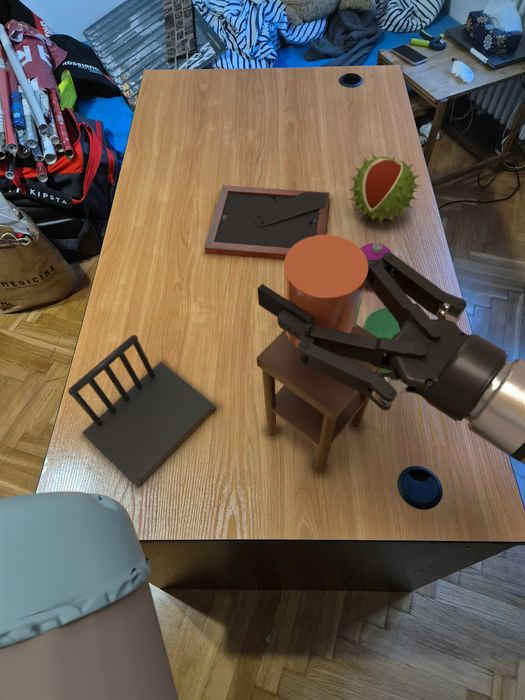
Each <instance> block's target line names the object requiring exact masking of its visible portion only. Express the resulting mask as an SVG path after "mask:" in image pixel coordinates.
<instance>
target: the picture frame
mask: <svg viewBox="0 0 525 700" xmlns="http://www.w3.org/2000/svg"><path fill="white" fill-rule="evenodd" d="M329 200H330V192H328V191H327V192H326V191H312V190H297V189H284V188H283V189H281V188H271V187H270V188H269V187H254V186H239V185H237V186H236V185H223V184H222V185H221V189H220V192H219V196H218V199H217V202H216V205H215V209H214V212H213V216H212V219H211V222H210V227H209V229H208V233H207V237H206V240H205V244H204V247H203V249H204V253H205V254H210V255H222V256H223V255H224V256H234V257H244V258H245V257H246V258H258V259H268V260H269V259H270V260H281V261H282V260H283V261H285V258H286V255H287V253H288V252H289V250H290V249H291V248H292V247H293V246H294V245H295V244H296V243H298V242H299V241H301V240H303V239H305V238H308V237H311V236H314V235H326V229H327V220H328V212H329V211H328V209H329V204H330V203H329V202H330V201H329Z"/></svg>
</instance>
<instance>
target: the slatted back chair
mask: <svg viewBox="0 0 525 700" xmlns="http://www.w3.org/2000/svg"><path fill="white" fill-rule="evenodd" d="M132 346H133V347H134V349H135V351H136V353H137V354H138V357H139V358H140V361H141V363H142V365H143V367H144V368H145V371H146V372H147V373H146V374H145V375H144V376H143V377H142V378H141V379H139V376H137V373H136V372H135V370H134V368H133V366H132V364H131V363H130V361H129V359H128V357H127V355H126V351H127V350H129V349H130V348H131V347H132ZM118 358H119V360H120V361H121V364H122V365H123V367H124V368H125V370H126V372H127V374H128V376H129V377H130V379H131V381H132V382H133V384H134V385H133V386H132V387H130V389H129V390H128V391H126V390H125V388H124V387H123V385H122V383H121V382H120V380H119V379H118V377H117V376H116V374H115V372H114V371H113V369H112V368H111V366H110V365H111V364H112V363H114V362H115V361H116V360H117V359H118ZM103 371H104V372H105V374H106V375H107V377H108V378H109V380H110V381H111V384H113V386H114V387H115V389H116V390H117V392H118V394H119V395H120V398H119V399H117V400H116V401H115V402H114V403H112V401H111V400H110V399H109V398H108V396H107V395H106V393H105V392H104V391H103V389H102V387H100V385H99V384H98V382H97V381H96V380H95V378H96V377H98V375H99V374H101V373H102V372H103ZM87 385H89V386H90V387H91V388H92V390H93V392H94V393H95V394H96V395H97V396H98V398H99V399H100V400H101V402H102V403H103V404H104V406H105V407H106V410H105V411H104V413H102V414H101V415H100V416H98V414H97V413H96V412H95V411H94V409H92V407H91V406H90V405H89V404H88V402H87V401H86V400H85V399H84V397H83V396H82V395H81V394H80V391H81V390H82V389H83V388H84V387H86V386H87ZM67 392H68V394H69V395H70V396H71V397H72V398H73V399H74V400H75V402H77V404H78V405H79V406H80V407H81V409H82V410H83V411H84V412H85V413H86V414H87V415H88V416H89V418H90V419H91V420H92V421H93V422H92V423H91V424H90V425H89V426H88V427H87V428H85V429H84V431H82V434H83V436H85V438H87V440H89V441H90V442H91V443H92V444H93V446H95V447H96V448H97V449H98V450H99V452H101V453H102V455H104V456H105V457H106V459H108V460H109V461H110V462H111V463H112V464H113V465H114V466H115V467H116V468H117V469H118V470H119V471H120V472H121V473H122V474H123V475H124V476H125V477H126V478H127V479H128V480H129V481H130V482H131V483H132V484H134V486H135V487H136V488H138V489H139V488H141V486H142V485H143V484H144V483H145V482H146V481H147V480H148V479H149V478H150V477H151V476H152V475H153V474H154V473H156V471H157V469H159V468H160V467H161V466H162V465H163V463H164V462H166V460H168V458H170V457H171V455H173V453H174V452H175V451H177V449H178V448H180V446H182V444H183V443H184V442H185V441H186V440H187V439H188V438H189V437H190V436H191V435H192V434H193V433H194V432H195V431H196V430H198V428H200V426H202V424H203V423H204V422H205V421H206V420H207V419H208V418H209V417H210V416H211V415H212V414H213V413H214V412H215V411H216V410H217V406H216V405H215V404H214V403H213V402H211V401H210V400H209V399H208V398H207V397H205V396H204V395H203V394H201V393H200V392H199V391H198V390H197V389H195V388H194V387H193V386H192V385H191V384H189V382H187V381H185V380H184V379H183V378H182V377H181V376H180V375H178V374H177V373H176V372H174V371H173V370H172V369H171V368H170V367H168V366H167V365H166V364H164V363H163V362H162V361H160V362H159V363H158V364H156V365H155V366H154V367H152V365H151V364H150V361H149V360H148V357H147V356H146V352H145V351H144V349H143V347H142V344H141V342H140V341H139V337H138V336H137V335H136V334H132V335H130V336H129V337H128V338H127V339H125V340H124V341H123V342H122V343H120V345H119V346H118V347H115V349H114V350H113V351H111V352H110V353H109V354H108V355H107V356H106V357H104V358H103V359H102V360H101V361H100V362H99V363H98V364H96V365H95V366H94V367H92V369H90V370H89V371H88V372H87V373H86V374H84V375H83V376H82V377H81V378H79V379H78V380H77V381H76V382H75V383H74V384H73V385H72V386H70V387H69V388H68V390H67Z"/></svg>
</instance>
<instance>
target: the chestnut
mask: <svg viewBox="0 0 525 700" xmlns="http://www.w3.org/2000/svg"><path fill="white" fill-rule="evenodd" d="M371 155H372V157H371V158H372V159H370V160H368V159H367V158H365V156H362V158H363V160H362V163H363V165H362V166H361V167H360V168H358V167H355V166H354V169H355V170H356V171H357V174H356V175H355V176H349V178H350V179H351V180H352V181H353V182H354V185H353V186H351V187H350V189H347V190H348V191H351V192H353V196H352V197H350V198H348V200H347V201H355V204H356V208H355V209H354V211H355V212H356V211H357V210H360V211H361V213H360V216H359V219H361V218H362V217H363V216H364V215H366V216H368V217H370V219H371V223H374V220H375V219H378V220H379V226H381V225H382V221H383V220H384V219H387V220H389V219H390V222H395V216H400V217H401V218H402V219H404V217H403V215H404V212H405V214H408V212H407V210H406V209H407V208H410V209H412V210H414V208H413V206H412V205H411V204H410V203H411V200H416V201H418V198H416V197H415V196H414V195H413V194H414V193H416V192H417V190H416V189H419V187H421V184H417V183H416V182H415V180H416V179H417V178H418V177H420V176H421V174H416V175H415V174H414V173H415V172H416V171H417V170H414V171H413V170H412V171H411V168H412V166H414V165H415V162H414V163H411V164H408V165H407V163H405V160H399V161H397V162H396V160H395V158H396V157H395V155H394V156H393V158H390V157H388V156H387V155H385V156H376V155H374V153H373V152H371Z"/></svg>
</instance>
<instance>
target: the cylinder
mask: <svg viewBox="0 0 525 700" xmlns="http://www.w3.org/2000/svg"><path fill="white" fill-rule="evenodd" d="M360 248H361V247H360V246H359V245H357V244H356V243H354V242H352V241H351V240H349V239H347V238H344V237H342V236H338V235H334V234H325V235H316V236H311V237H308V238H305V239H303V240H301V241H299V242H298V243H296V244H295V245H294V246H293V247H292V248H291V249H290V250H289V252H288V253H287V255H286V258H285V260H283V297H284V298H285V299H287V300H288V301H290V302H292V303H293V304H295V305H296V306H298V307H299V308H301V309H303V310H304V311H306V312H307V313H309V314H310V315H312V316H314V319H313V325H315V326H320V327H324V328H329V329H333V330H338V331H342V332H347V333H351V334H354V332H355V328H356V324H357V322H358V318H359V313H360V309H361V305H362V301H363V296H364V291H365V287H366V284H365V283H366V278H367V274H368V261H367V258H366V256H365V254H364V253H363V251H362V250H361V249H360ZM285 332H286V331H285ZM286 334H287V336H288V338H289V340H290V341H291V342H292V343H293V344H294V345H295V346H296V347H298V344H299V343H300V341H299V340H298V339H297V338H295V337H294V336H292V335H291V334H289V333H288V332H286Z"/></svg>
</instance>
